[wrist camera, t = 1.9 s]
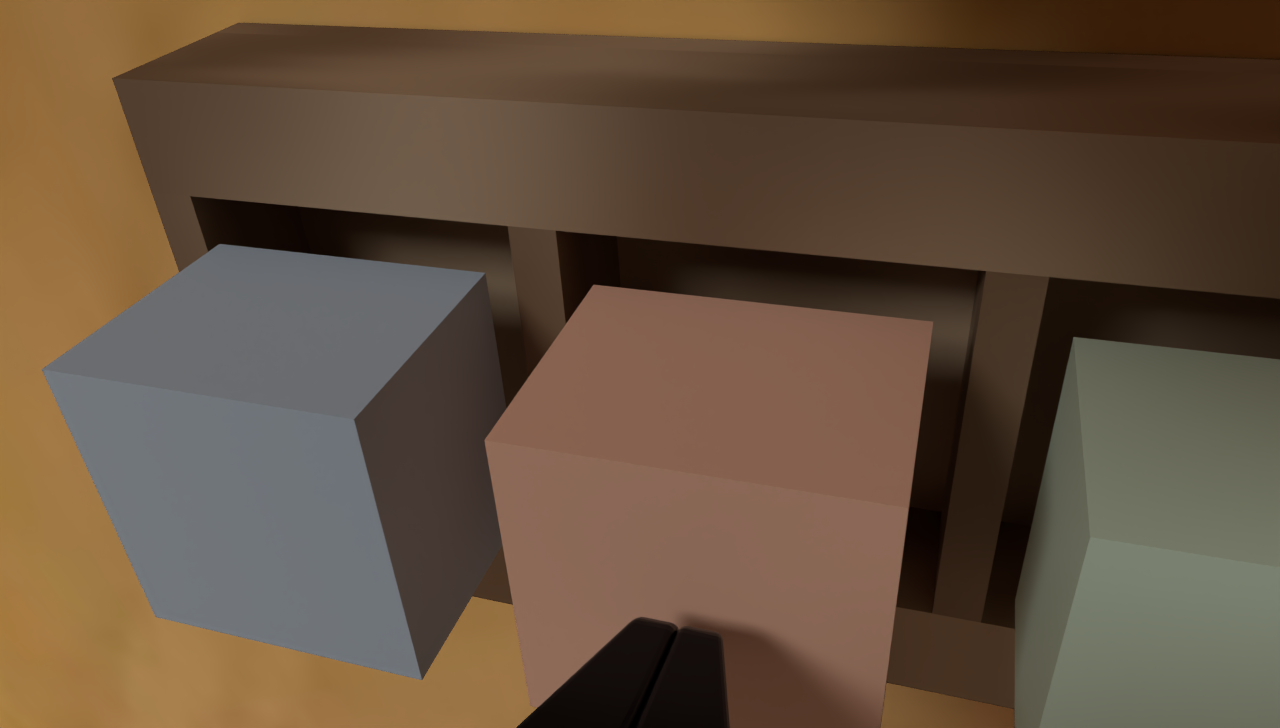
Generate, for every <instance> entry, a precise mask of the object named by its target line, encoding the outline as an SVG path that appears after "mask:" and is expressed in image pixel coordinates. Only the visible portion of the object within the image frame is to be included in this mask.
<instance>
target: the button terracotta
mask: <svg viewBox="0 0 1280 728" xmlns="http://www.w3.org/2000/svg"><path fill="white" fill-rule="evenodd" d="M932 328H933V322H931V321H922V320H913V319H904V318H895V317H886V316H876V315H867V314H858V313H849V312H840V311H830V310H821V309H812V308H803V307H794V306H785V305H775V304H766V303H757V302H748V301H739V300H730V299H720V298H711V297H702V296H693V295H684V294H674V293H665V292H656V291H647V290H638V289H629V288H619V287H610V286H601V285H593V286H592V288H591V289H590V291H589V292H588V293H587V295H586V296H585V298H584V299H583V301H582V302H581V303H580V305H579V306H578V308H577V309H576V311H575V312H574V313H573V315H572V316H571V318H570V319H569V321H568V322H567V323H566V325H565V326H564V328H563V329H562V330H561V332H560V333H559V335H558V336H557V338H556V339H555V340H554V342H553V343H552V345H551V346H550V348H549V349H548V350H547V352H546V353H545V355H544V356H543V358H542V359H541V360H540V362H539V363H538V365H537V366H536V367H535V369H534V370H533V372H532V373H531V375H530V376H529V377H528V379H527V380H526V382H525V383H524V385H523V386H522V387H521V389H520V390H519V392H518V393H517V395H516V396H515V397H514V399H513V400H512V402H511V403H510V404H509V406H508V407H507V409H506V410H505V412H504V413H503V414H502V416H501V417H500V419H499V420H498V422H497V423H496V424H495V426H494V427H493V429H492V430H491V432H490V433H489V434H488V436H487V437H486V439H485V440H484V441H485V447H486V452H487V458H488V464H489V470H490V475H491V481H492V487H493V493H494V498H495V504H496V510H497V516H498V521H499V527H500V533H501V539H502V544H503V550H504V556H505V562H506V568H507V573H508V579H509V585H510V591H511V596H512V602H513V608H514V614H515V619H516V625H517V631H518V637H519V642H520V648H521V654H522V660H523V665H524V671H525V677H526V683H527V688H528V694H529V700H530V706H533V707H537V708H538V707H539V706H540V705H541V704H542V703H543V702H544V701H545V700H547V699H548V698H549V697H550V696H551V695H552V694H553V693H554V692H555V691H556V690H557V689H558V688H559V687H561V686H562V685H563V684H564V683H565V682H566V681H567V680H568V679H569V678H570V677H571V676H572V675H573V674H575V673H576V672H577V671H578V670H579V669H580V668H581V667H582V666H583V665H584V664H585V663H586V662H587V661H589V660H590V659H591V658H592V657H593V656H594V655H595V654H596V653H597V652H598V651H599V650H600V649H601V648H603V647H604V646H605V645H606V644H607V643H608V642H609V641H610V640H611V639H612V638H613V637H614V636H615V635H616V634H618V633H619V632H620V631H621V630H622V629H623V628H624V627H625V626H626V625H627V624H628V623H629V622H631V621H632V620H633V619H635V618H638V617H647V618H652V619H657V620H662V621H666V622H671V623H673V624H675V625H676V626H677V627H678V629H680V628H681V627H683V626H691V627H696V628H701V629H706V630H711V631H715V632H718V633H720V634H721V636H722V638H723V645H724V658H725V670H726V683H727V696H728V709H729V722H730V728H880V726H881V719H882V711H883V704H884V696H885V689H886V681H887V673H888V666H889V658H890V651H891V643H892V636H893V628H894V620H895V613H896V605H897V598H898V590H899V583H900V575H901V567H902V560H903V552H904V544H905V536H906V529H907V521H908V513H909V505H910V498H911V490H912V482H913V475H914V467H915V459H916V451H917V444H918V436H919V428H920V421H921V413H922V405H923V397H924V390H925V382H926V374H927V366H928V359H929V351H930V343H931V336H932Z"/></svg>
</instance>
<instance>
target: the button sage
mask: <svg viewBox="0 0 1280 728" xmlns="http://www.w3.org/2000/svg"><path fill="white" fill-rule="evenodd" d="M1015 728H1280V359H1271V358H1262V357H1253V356H1243V355H1234V354H1225V353H1216V352H1207V351H1198V350H1188V349H1179V348H1170V347H1161V346H1152V345H1142V344H1133V343H1124V342H1115V341H1106V340H1097V339H1087V338H1078V337H1073V342H1072V346H1071V351H1070V355H1069V360H1068V364H1067V369H1066V373H1065V378H1064V382H1063V387H1062V391H1061V396H1060V400H1059V405H1058V409H1057V414H1056V418H1055V423H1054V427H1053V432H1052V436H1051V441H1050V445H1049V450H1048V454H1047V459H1046V463H1045V468H1044V472H1043V477H1042V481H1041V486H1040V490H1039V495H1038V499H1037V504H1036V508H1035V513H1034V517H1033V522H1032V526H1031V531H1030V535H1029V540H1028V544H1027V549H1026V553H1025V558H1024V562H1023V567H1022V571H1021V576H1020V580H1019V585H1018V589H1017V594H1016V598H1015Z"/></svg>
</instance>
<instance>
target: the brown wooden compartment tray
mask: <svg viewBox="0 0 1280 728" xmlns="http://www.w3.org/2000/svg"><path fill="white" fill-rule="evenodd" d="M112 79H113V82H114V85H115V88H116V90H117V93H118V96H119V99H120V102H121V105H122V108H123V111H124V114H125V116H126V119H127V122H128V125H129V128H130V131H131V134H132V137H133V140H134V142H135V145H136V148H137V151H138V154H139V157H140V160H141V163H142V166H143V168H144V171H145V174H146V177H147V180H148V183H149V186H150V189H151V192H152V194H153V197H154V200H155V203H156V206H157V209H158V212H159V215H160V218H161V220H162V223H163V226H164V229H165V232H166V235H167V238H168V241H169V244H170V246H171V249H172V252H173V255H174V258H175V261H176V264H177V267H178V270H179V272H181V271H182V270H183V269H185V268H186V267H188V266H189V265H190V264H192V263H193V262H195V261H196V260H198V259H199V258H200V257H202V256H203V255H205V254H206V253H207V252H209V251H210V250H212V249H213V248H214V247H216V246H217V245H219V244H225V245H234V246H243V247H252V248H262V249H271V250H280V251H289V252H298V253H307V254H317V255H326V256H335V257H344V258H353V259H362V260H372V261H381V262H390V263H399V264H408V265H418V266H427V267H436V268H445V269H454V270H463V271H473V272H482V273H486V279H487V286H488V292H489V299H490V305H491V312H492V318H493V325H494V331H495V337H496V344H497V350H498V357H499V363H500V370H501V376H502V383H503V389H504V396H505V402H506V408H507V407H508V406H509V404H510V403H511V402H512V400H513V399H514V397H515V396H516V395H517V393H518V392H519V390H520V389H521V387H522V386H523V385H524V383H525V382H526V380H527V379H528V377H529V376H530V375H531V373H532V372H533V370H534V369H535V367H536V366H537V365H538V363H539V362H540V360H541V359H542V358H543V356H544V355H545V353H546V352H547V350H548V349H549V348H550V346H551V345H552V343H553V342H554V340H555V339H556V338H557V336H558V335H559V333H560V332H561V330H562V329H563V328H564V326H565V325H566V323H567V322H568V321H569V319H570V318H571V316H572V315H573V313H574V312H575V311H576V309H577V308H578V306H579V305H580V303H581V302H582V301H583V299H584V298H585V296H586V295H587V293H588V292H589V291H590V289H591V288H592V286H593V285H601V286H610V287H619V288H629V289H638V290H647V291H656V292H665V293H674V294H684V295H693V296H702V297H711V298H720V299H730V300H739V301H748V302H757V303H766V304H775V305H785V306H794V307H803V308H812V309H821V310H830V311H840V312H849V313H858V314H867V315H876V316H886V317H895V318H904V319H913V320H922V321H931V322H933V328H932V336H931V343H930V351H929V359H928V366H927V374H926V382H925V390H924V397H923V405H922V413H921V421H920V428H919V436H918V444H917V451H916V459H915V467H914V475H913V482H912V490H911V498H910V505H909V513H908V521H907V529H906V536H905V544H904V552H903V560H902V567H901V575H900V583H899V590H898V598H897V605H896V613H895V620H894V628H893V636H892V643H891V651H890V658H889V666H888V673H887V681H886V682H887V683H892V684H896V685H901V686H906V687H911V688H916V689H920V690H925V691H930V692H935V693H940V694H945V695H949V696H954V697H959V698H964V699H969V700H973V701H978V702H983V703H988V704H993V705H997V706H1002V707H1007V708H1012V709H1015V598H1016V594H1017V589H1018V585H1019V580H1020V576H1021V571H1022V567H1023V562H1024V558H1025V553H1026V549H1027V544H1028V540H1029V535H1030V531H1031V526H1032V522H1033V517H1034V513H1035V508H1036V504H1037V499H1038V495H1039V490H1040V486H1041V481H1042V477H1043V472H1044V468H1045V463H1046V459H1047V454H1048V450H1049V445H1050V441H1051V436H1052V432H1053V427H1054V423H1055V418H1056V414H1057V409H1058V405H1059V400H1060V396H1061V391H1062V387H1063V382H1064V378H1065V373H1066V369H1067V364H1068V360H1069V355H1070V351H1071V346H1072V342H1073V337H1078V338H1087V339H1097V340H1106V341H1115V342H1124V343H1133V344H1142V345H1152V346H1161V347H1170V348H1179V349H1188V350H1198V351H1207V352H1216V353H1225V354H1234V355H1243V356H1253V357H1262V358H1271V359H1280V60H1272V59H1244V58H1216V57H1188V56H1160V55H1131V54H1103V53H1075V52H1047V51H1019V50H991V49H963V48H934V47H906V46H878V45H850V44H822V43H794V42H765V41H737V40H709V39H681V38H653V37H625V36H597V35H568V34H540V33H512V32H484V31H456V30H428V29H399V28H371V27H343V26H315V25H287V24H259V23H237V24H235V25H232V26H230V27H228V28H226V29H223V30H221V31H219V32H217V33H214V34H212V35H210V36H207V37H205V38H203V39H201V40H198V41H196V42H194V43H192V44H189V45H187V46H185V47H182V48H180V49H178V50H176V51H173V52H171V53H169V54H167V55H164V56H162V57H160V58H157V59H155V60H153V61H151V62H148V63H146V64H144V65H141V66H139V67H137V68H135V69H132V70H130V71H128V72H126V73H123V74H121V75H119V76H116V77H114V78H112ZM472 596H474V597H479V598H483V599H488V600H493V601H498V602H503V603H507V604H512V605H513V602H512V596H511V591H510V585H509V579H508V573H507V568H506V562H505V556H504V550H503V545H502V547H501V548H500V550H499V552H498V554H497V555H496V557H495V559H494V560H493V562H492V564H491V565H490V567H489V569H488V570H487V572H486V574H485V575H484V577H483V579H482V580H481V582H480V584H479V585H478V587H477V589H476V590H475V592H474V594H473V595H472Z"/></svg>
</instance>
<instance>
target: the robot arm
mask: <svg viewBox="0 0 1280 728" xmlns="http://www.w3.org/2000/svg"><path fill="white" fill-rule="evenodd" d="M516 728H730V722H729V709H728V696H727V683H726V670H725V658H724V645H723V638H722V636H721V634H720V633H718V632H715V631H711V630H706V629H701V628H696V627H691V626H683V627H681V628H680V629H678V627H677V626H676V625H675V624H673V623H671V622H666V621H662V620H657V619H652V618H647V617H638V618H635V619H633V620H632V621H631V622H629V623H628V624H627V625H626V626H625V627H624V628H623V629H622V630H621V631H620V632H619V633H618V634H616V635H615V636H614V637H613V638H612V639H611V640H610V641H609V642H608V643H607V644H606V645H605V646H604V647H603V648H601V649H600V650H599V651H598V652H597V653H596V654H595V655H594V656H593V657H592V658H591V659H590V660H589V661H587V662H586V663H585V664H584V665H583V666H582V667H581V668H580V669H579V670H578V671H577V672H576V673H575V674H573V675H572V676H571V677H570V678H569V679H568V680H567V681H566V682H565V683H564V684H563V685H562V686H561V687H559V688H558V689H557V690H556V691H555V692H554V693H553V694H552V695H551V696H550V697H549V698H548V699H547V700H545V701H544V702H543V703H542V704H541V705H540V706H539V707H538V708H537V709H536V710H535V711H534V712H533V713H531V714H530V715H529V716H528V717H527V718H526V719H525V720H524V721H523V722H522V723H521V724H520V725H519V726H517V727H516Z"/></svg>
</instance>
